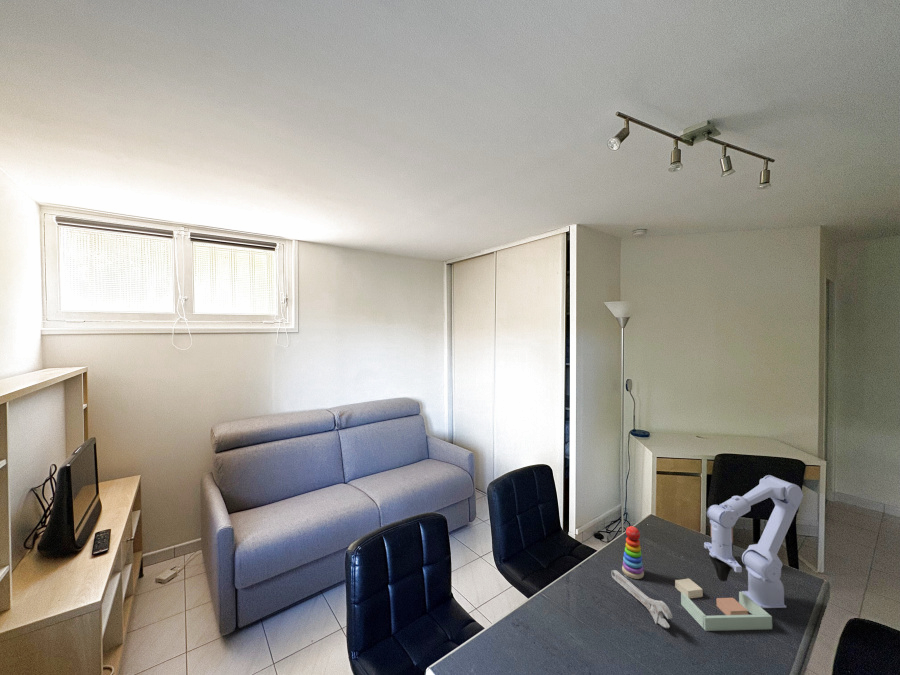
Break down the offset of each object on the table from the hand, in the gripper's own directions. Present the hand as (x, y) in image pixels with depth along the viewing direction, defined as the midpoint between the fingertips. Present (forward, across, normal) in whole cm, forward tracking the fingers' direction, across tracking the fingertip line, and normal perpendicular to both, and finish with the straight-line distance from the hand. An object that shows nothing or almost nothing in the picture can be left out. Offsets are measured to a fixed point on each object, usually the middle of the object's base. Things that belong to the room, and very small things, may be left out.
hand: (722, 579), depth 125 cm
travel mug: (+9, -25, +20) cm, 33 cm away
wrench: (+9, -1, -30) cm, 31 cm away
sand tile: (+9, -6, -8) cm, 13 cm away
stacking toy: (+8, -17, -23) cm, 30 cm away
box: (+8, +6, -4) cm, 11 cm away
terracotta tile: (+9, +4, 0) cm, 10 cm away
